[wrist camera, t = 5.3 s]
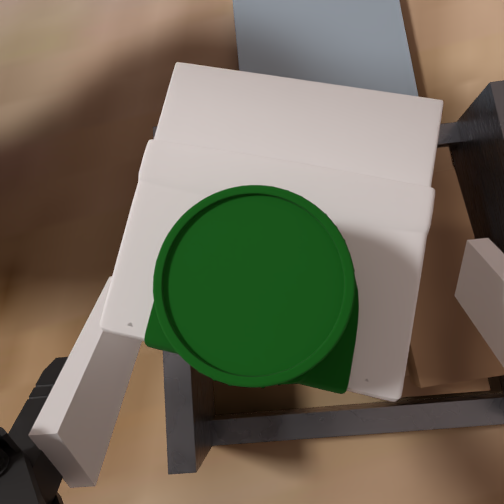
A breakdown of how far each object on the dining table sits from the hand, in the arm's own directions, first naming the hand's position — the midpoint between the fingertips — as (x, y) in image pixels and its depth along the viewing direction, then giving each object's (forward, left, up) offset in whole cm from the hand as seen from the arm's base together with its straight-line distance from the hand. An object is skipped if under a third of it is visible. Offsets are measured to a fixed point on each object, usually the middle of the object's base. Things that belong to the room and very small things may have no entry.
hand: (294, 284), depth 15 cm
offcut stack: (+9, +1, -12) cm, 15 cm away
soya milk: (-1, +1, -12) cm, 12 cm away
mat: (+4, +19, -12) cm, 23 cm away
